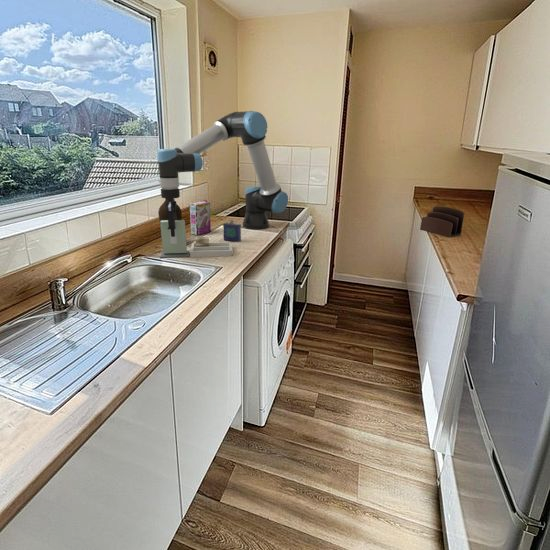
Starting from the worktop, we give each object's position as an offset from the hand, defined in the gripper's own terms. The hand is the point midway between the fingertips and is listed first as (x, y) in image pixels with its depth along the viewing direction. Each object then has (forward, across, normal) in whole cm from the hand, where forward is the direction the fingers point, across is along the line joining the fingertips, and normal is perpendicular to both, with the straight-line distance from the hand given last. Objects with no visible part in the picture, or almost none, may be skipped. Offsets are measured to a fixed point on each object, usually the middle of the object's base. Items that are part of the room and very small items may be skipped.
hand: (174, 242), depth 164 cm
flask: (+6, -21, +26) cm, 34 cm away
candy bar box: (+6, -38, +10) cm, 39 cm away
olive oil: (+6, -18, -3) cm, 19 cm away
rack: (+6, -3, +16) cm, 17 cm away
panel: (+5, 0, 0) cm, 5 cm away
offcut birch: (+3, -6, +12) cm, 14 cm away
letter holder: (+6, -29, +144) cm, 147 cm away
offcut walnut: (+6, -6, +12) cm, 15 cm away
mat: (+6, 0, 0) cm, 6 cm away
